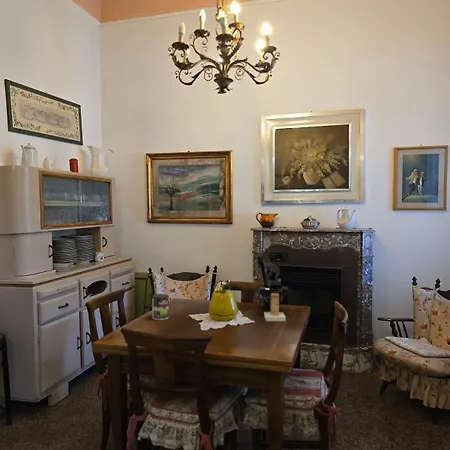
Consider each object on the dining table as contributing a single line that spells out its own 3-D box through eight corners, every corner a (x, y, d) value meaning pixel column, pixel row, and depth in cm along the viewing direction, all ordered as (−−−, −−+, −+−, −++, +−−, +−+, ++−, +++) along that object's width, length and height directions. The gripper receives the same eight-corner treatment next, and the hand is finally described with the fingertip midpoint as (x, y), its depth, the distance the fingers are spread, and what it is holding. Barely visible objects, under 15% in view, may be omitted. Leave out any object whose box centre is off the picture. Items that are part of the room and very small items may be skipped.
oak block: (270, 313, 274) (271, 293, 273) (277, 313, 274) (278, 293, 273) (271, 315, 269) (271, 295, 268) (278, 315, 269) (279, 295, 269)
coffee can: (171, 318, 270) (171, 296, 269) (156, 321, 264) (156, 298, 263) (163, 314, 278) (163, 293, 277) (149, 317, 272) (149, 295, 271)
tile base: (264, 315, 278) (264, 312, 277) (282, 316, 278) (282, 312, 278) (266, 321, 266) (266, 317, 265) (285, 321, 266) (285, 317, 266)
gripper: (259, 274, 277) (260, 295, 267) (288, 274, 277) (290, 295, 267) (258, 283, 286) (259, 304, 275) (286, 284, 286) (288, 304, 275)
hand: (274, 302), depth 273 cm, fingers open, 9 cm apart
